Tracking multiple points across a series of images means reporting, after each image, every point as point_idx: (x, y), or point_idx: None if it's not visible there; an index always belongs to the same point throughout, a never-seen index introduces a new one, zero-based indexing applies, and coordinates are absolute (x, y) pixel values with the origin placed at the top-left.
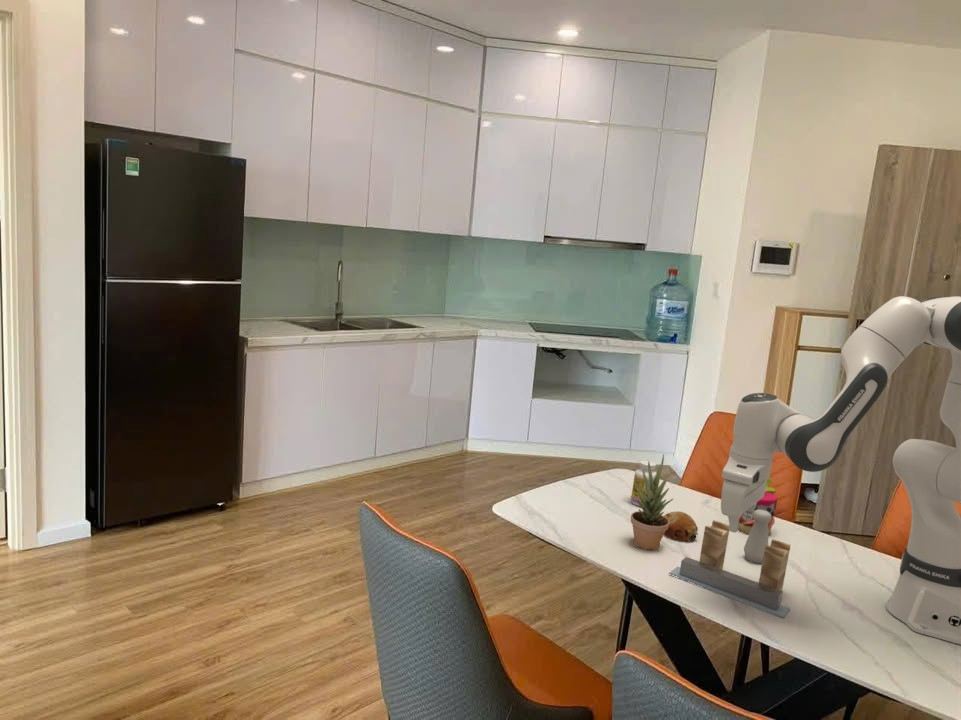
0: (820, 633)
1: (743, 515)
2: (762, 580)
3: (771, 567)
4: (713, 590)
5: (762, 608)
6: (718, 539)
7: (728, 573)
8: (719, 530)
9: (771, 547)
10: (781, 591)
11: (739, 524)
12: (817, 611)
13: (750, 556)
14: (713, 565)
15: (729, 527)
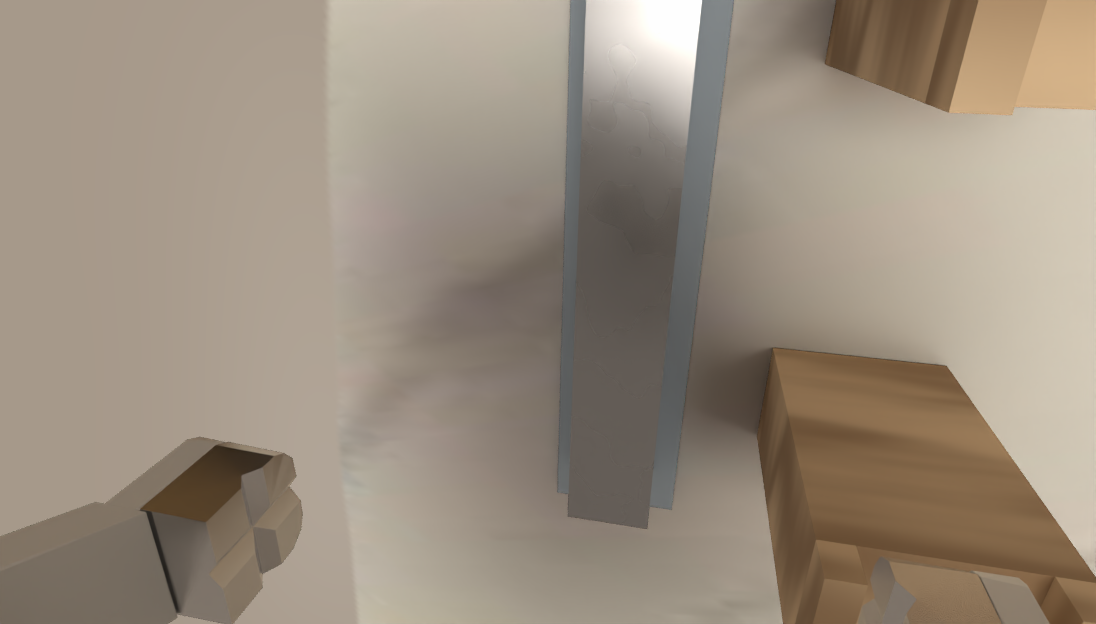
0: (548, 601)
1: (913, 603)
2: (780, 408)
3: (784, 516)
4: (567, 138)
5: (561, 404)
6: (919, 71)
7: (649, 225)
8: (992, 67)
9: (837, 621)
10: (638, 524)
11: (234, 615)
12: (762, 597)
13: None
14: (846, 47)
15: (165, 465)
